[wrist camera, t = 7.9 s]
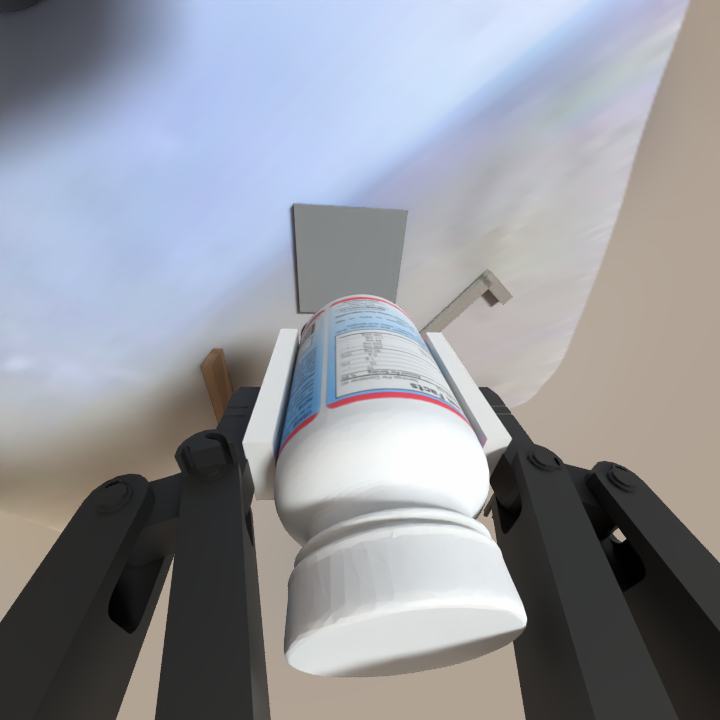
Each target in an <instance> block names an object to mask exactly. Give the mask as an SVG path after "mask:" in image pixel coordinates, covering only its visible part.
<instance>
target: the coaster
mask: <svg viewBox="0 0 720 720" xmlns="http://www.w3.org/2000/svg"><path fill="white" fill-rule="evenodd" d="M407 215H408V211H407V210H398V209H382V208H366V207H350V206H334V205H318V204H302V203H294V218H295V235H296V252H297V269H298V286H299V302H300V312H314V313H316V312H317V311H318V310H319V309H321V308H322V307H323V306H325V305H326V304H328V303H330V302H332V301H334V300H336V299H339V298H342V297H345V296H350V295H358V294H365V295H373V296H378V297H381V298H384V299H386V300H388V301H390V302H392V303H394V304H395V302H396V295H397V287H398V280H399V273H400V265H401V258H402V251H403V244H404V236H405V229H406V222H407Z"/></svg>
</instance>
